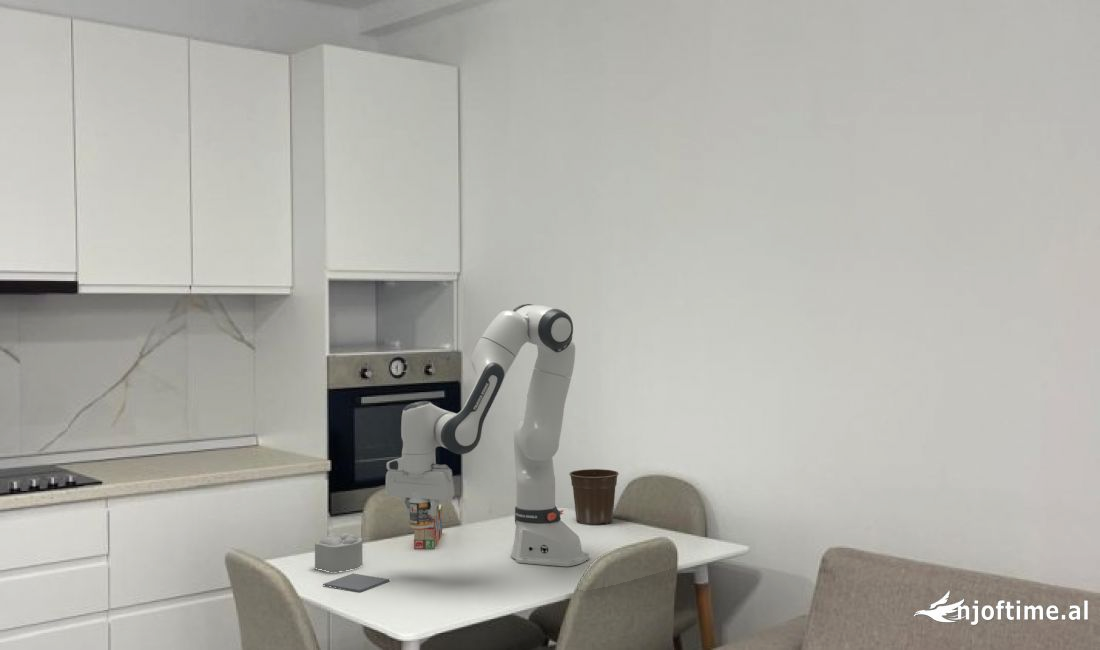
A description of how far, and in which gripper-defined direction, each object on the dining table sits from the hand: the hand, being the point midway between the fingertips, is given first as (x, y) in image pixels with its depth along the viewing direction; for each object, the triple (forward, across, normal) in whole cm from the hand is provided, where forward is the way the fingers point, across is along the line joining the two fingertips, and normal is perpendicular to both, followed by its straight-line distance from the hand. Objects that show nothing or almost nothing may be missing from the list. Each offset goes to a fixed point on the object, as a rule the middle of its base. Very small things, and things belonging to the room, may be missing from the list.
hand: (420, 514), depth 287 cm
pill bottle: (+3, 0, 0) cm, 3 cm away
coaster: (+15, +10, +16) cm, 24 cm away
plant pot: (+18, -9, -83) cm, 86 cm away
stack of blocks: (+17, +22, -33) cm, 43 cm away
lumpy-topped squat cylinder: (+16, +24, +4) cm, 29 cm away
